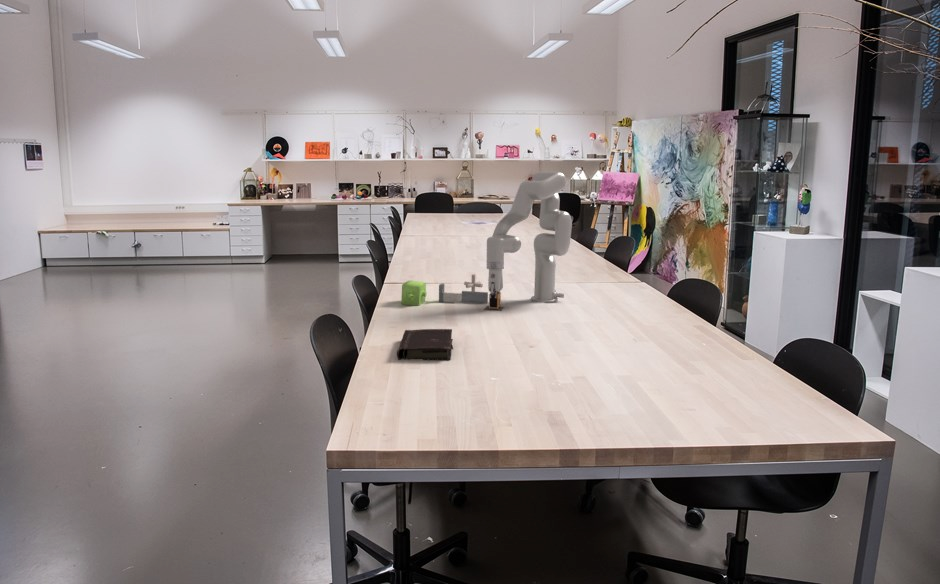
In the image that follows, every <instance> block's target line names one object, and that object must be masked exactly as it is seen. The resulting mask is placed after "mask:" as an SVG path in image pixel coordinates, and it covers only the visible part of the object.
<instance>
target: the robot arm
mask: <svg viewBox="0 0 940 584" xmlns="http://www.w3.org/2000/svg"><path fill="white" fill-rule="evenodd" d="M531 179H532V180H525V181H522V182H521V183H520V185H519V186H518V189H517V192H516V194H515V197H514V199H513V202H512V205H511V208H510V210H509V211H508V212H507V213H506V214H505V215H503V217H502V218H501V219H500V220H499V221H498V223H497V224H496V225H495V228H494V230H493V233H492V236H489V237H487V239H486V269H487V270H488V285H487V287H488V292H489V294H490V307H497V292H501V291H502V290H503V288H504V282H503V281H504V280H503V279H504V278H503V275H504V274H503V270H504V267H505V260H504V259H505V253H508V254H509V253H510V254H514V253H517V252H518V251H519V250H520V249H521V247H522V241H521V239H520V238H519V237H518V236H515V235H509V234H508V232H509V231H510V230H511V228H512V227H514V226H516V224H519V223H521V222H523V221H525V220H527V219H528V218H529V216H530V213H531V210H532V208H533V204H534V202H535V201H540V211H539V220H538V221H539V227H540V228H541V229H542V230H545V231H548V232H549V231H551V232H554V233H550V232H549V233H548V232H547V233H546V232H541V233H539V234H537V235H536V236H535V238H534V239H533V249H534V260H535V261H534V262H535V263H534V265H535V266H534V294H533V295H532V296H530V300H531V301H533V302H536V303H545V304H547V303H555V302H558V298H559V299H560V298H561V299H564V298H565V294H564V293H560V292H557V290H556V289H555V288H556V265H557V263H556V258H555V256H557V257H562V256H565V255H566V254H567V253H568V251H569V249H570V245H571V239H572V238H571V237H572V228H573V221H572V220H573V219H572V216H571V215H570V213H569V212H567V211H564V210H560V201H561V200H560V199H561V198H560V195H559V192H561V191H562V190H564V188H565V187H566V184H567V178H566V175H565V174H564V173H562V172H561V171H550V170H549V171H548V170H545V171H544V170H542V171H540V170H539V171H536V172H534V173H533V175H532V177H531Z"/></svg>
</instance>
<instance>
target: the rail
mask: <svg viewBox="0 0 940 584" xmlns="http://www.w3.org/2000/svg"><path fill="white" fill-rule="evenodd" d="M438 303H445V304H447V303H449V304H454V303H470V304H471V303H472V304H488V303H489V291H487V292H485V291H475V292H473V291H470V290H468V291H467V290H462V291H461V293H460V292H448V291H447V292H445V283H440V284H438Z"/></svg>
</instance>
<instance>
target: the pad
mask: <svg viewBox="0 0 940 584" xmlns="http://www.w3.org/2000/svg"><path fill="white" fill-rule="evenodd" d="M504 308H505V306H500V307H499V308H498V309H492V308H489V305H486V306H485V307H484V308H483V309H482V310H483V311H494V312H495V311H499V312H502V311H503V309H504Z"/></svg>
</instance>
